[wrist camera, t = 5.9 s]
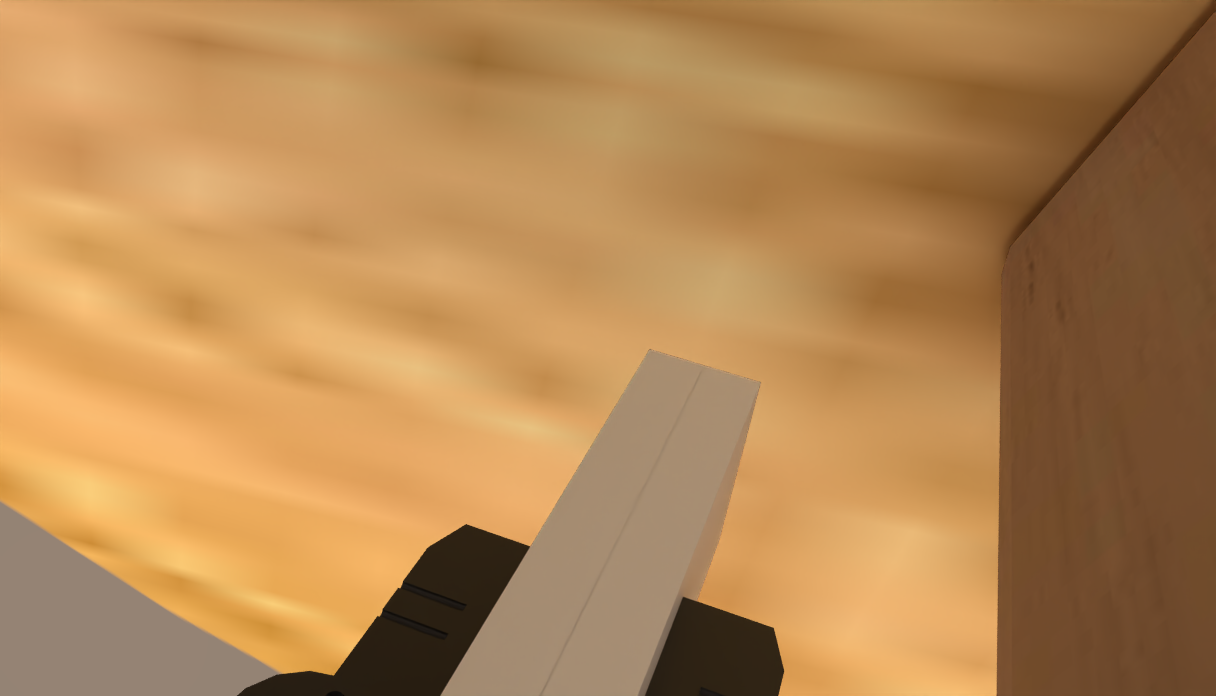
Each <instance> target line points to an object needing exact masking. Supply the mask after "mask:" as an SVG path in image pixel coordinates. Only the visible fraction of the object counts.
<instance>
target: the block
mask: <svg viewBox="0 0 1216 696" xmlns="http://www.w3.org/2000/svg"><path fill="white" fill-rule="evenodd" d="M997 696H1216V11H1215V12H1214V13H1213V14H1212V16H1211V17H1210V18H1209V19H1208V20H1207V21H1206V22H1205V24H1204V25H1203V26H1202V27H1201V28H1200V29H1199V31H1198V32H1197V33H1196V34H1195V35H1194V36H1193V37H1192V39H1191V40H1190V41H1189V42H1188V43H1187V44H1186V45H1185V47H1184V48H1183V49H1182V50H1181V51H1180V52H1179V53H1178V55H1177V56H1176V57H1175V58H1174V59H1173V60H1172V62H1171V63H1170V64H1169V65H1168V66H1167V67H1166V68H1165V70H1164V71H1163V72H1162V73H1161V74H1160V75H1159V76H1158V78H1157V79H1156V80H1155V81H1154V82H1153V83H1152V84H1151V86H1150V87H1149V88H1148V89H1147V90H1146V91H1145V93H1144V94H1143V95H1142V96H1141V97H1140V98H1139V99H1138V101H1137V102H1136V103H1135V104H1134V105H1133V106H1132V107H1131V109H1130V110H1129V111H1128V112H1127V113H1126V114H1125V115H1124V117H1123V118H1122V119H1121V120H1120V121H1119V122H1118V124H1117V125H1116V126H1115V127H1114V128H1113V129H1112V130H1111V132H1110V133H1109V134H1108V135H1107V136H1106V137H1105V138H1104V140H1103V141H1102V142H1101V143H1100V144H1099V145H1098V146H1097V148H1096V149H1095V150H1094V151H1093V152H1092V153H1091V155H1090V156H1089V157H1088V158H1087V159H1086V160H1085V161H1084V163H1083V164H1082V165H1081V166H1080V167H1079V168H1078V169H1077V171H1076V172H1075V173H1074V174H1073V175H1072V176H1071V177H1070V179H1069V180H1068V181H1067V182H1066V183H1065V184H1064V186H1063V187H1062V188H1061V189H1060V190H1059V191H1058V192H1057V194H1056V195H1055V196H1054V197H1053V198H1052V199H1051V200H1050V202H1049V203H1048V204H1047V205H1046V206H1045V207H1044V208H1043V210H1042V211H1041V212H1040V213H1039V214H1038V215H1037V217H1036V218H1035V219H1034V220H1033V221H1032V222H1031V223H1030V225H1029V226H1028V227H1027V228H1026V229H1025V230H1024V231H1023V233H1022V234H1021V235H1020V236H1019V237H1018V238H1017V239H1016V241H1015V242H1014V243H1013V244H1012V245H1011V246H1010V249H1009V252H1008V256H1007V259H1006V262H1005V265H1004V268H1003V272H1002V299H1001V381H1000V463H999V544H998V626H997Z"/></svg>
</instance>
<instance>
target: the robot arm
mask: <svg viewBox="0 0 1216 696" xmlns="http://www.w3.org/2000/svg"><path fill="white" fill-rule="evenodd" d="M760 384H761V382H758V381H755V380H751V379H748V378H745V377H741V376H738V375H735V374H731V373H728V372H725V371H721V370H718V369H714V368H711V367H708V366H704V365H701V364H698V363H694V362H691V361H688V360H684V359H681V358H678V357H674V356H671V355H667V354H664V353H661V352H657V351H654V350H651V349H650V350H649V351H648V353H647V354H646V356H645V358H644V359H643V361H642V363H641V364H640V366H639V368H638V369H637V371H636V373H635V374H634V376H633V378H632V379H631V381H630V383H629V384H628V386H627V388H626V389H625V391H624V393H623V394H622V396H621V398H620V399H619V401H618V403H617V404H616V406H615V407H614V409H613V411H612V412H611V414H610V416H609V417H608V419H607V421H606V422H605V424H604V426H603V427H602V429H601V431H600V432H599V434H598V436H597V437H596V439H595V441H594V442H593V444H592V446H591V447H590V449H589V451H588V452H587V454H586V455H585V457H584V459H583V460H582V462H581V464H580V465H579V467H578V469H577V470H576V472H575V474H574V475H573V477H572V479H571V480H570V482H569V484H568V485H567V487H566V489H565V490H564V492H563V494H562V495H561V497H560V499H559V500H558V502H557V503H556V505H555V507H554V508H553V510H552V512H551V513H550V515H549V517H548V518H547V520H546V522H545V523H544V525H543V527H542V528H541V530H540V532H539V533H538V535H537V537H536V538H535V540H534V542H533V543H532V545H531V547H530V546H527V545H524V544H522V543H519V542H516V541H513V540H510V539H507V538H504V537H501V536H499V535H496V534H493V533H490V532H487V531H484V530H481V529H478V528H475V527H473V526H470V525H467V524H466V525H464V526H462V527H461V528H459V529H458V530H456V531H454V532H453V533H451V534H449V535H448V536H446V537H444V538H443V539H441V540H439V541H438V542H436V543H435V544H433V545H431V546H430V547H428V548H427V549H426V551H425V552H424V553H423V555H422V556H421V558H420V559H419V560H418V562H417V563H416V564H415V566H414V567H413V568H412V570H411V571H410V573H409V574H408V575H407V577H406V578H405V579H404V581H403V584H402V586H401V588H398V589H397V590H396V592H395V593H394V594H393V596H392V597H391V598H390V600H389V601H388V603H387V604H386V605H385V607H384V608H383V611H382V614H381V615H380V617H379V616H377V618H376V619H375V620H374V622H373V623H372V624H371V626H370V627H369V628H368V630H367V631H366V633H365V634H364V635H363V637H362V638H361V639H360V641H359V642H358V643H357V645H356V646H355V648H354V649H353V650H352V652H351V653H350V654H349V656H348V657H347V658H346V660H345V661H344V663H343V664H342V665H341V667H340V668H339V669H338V671H337V672H336V673H335V675H334V676H333V675H328V674H323V673H318V672H313V671H305V672H297V673H288V674H279V675H275V676H273V677H271V678H268V679H266V680H264V681H261V682H259V683H257V684H254V685H252V686H250V687H247V688H246V689H244V690H243V691H242V692H241V693H240V694H239V695H237V696H778V695H779V690H780V686H781V682H782V678H783V674H784V668H783V664H782V660H781V656H780V652H779V648H778V644H777V640H776V635H775V631H774V628H772V627H769V626H766V625H764V624H761V623H758V622H755V621H752V620H749V619H746V618H743V617H740V616H738V615H735V614H732V613H729V612H726V611H723V610H720V609H717V608H714V607H712V606H709V605H706V604H703V603H700V602H697V599H698V597H699V594H700V591H701V588H702V586H703V583H704V580H705V578H706V575H707V572H708V569H709V567H710V564H711V561H712V559H713V556H714V553H715V550H716V548H717V545H718V542H719V539H720V535H721V532H722V528H723V524H724V520H725V516H726V513H727V509H728V505H729V501H730V497H731V494H732V490H733V486H734V482H735V479H736V475H737V471H738V467H739V463H740V460H741V456H742V452H743V448H744V444H745V441H746V437H747V433H748V429H749V425H750V422H751V418H752V414H753V410H754V406H755V403H756V399H757V395H758V391H759V387H760Z"/></svg>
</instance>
